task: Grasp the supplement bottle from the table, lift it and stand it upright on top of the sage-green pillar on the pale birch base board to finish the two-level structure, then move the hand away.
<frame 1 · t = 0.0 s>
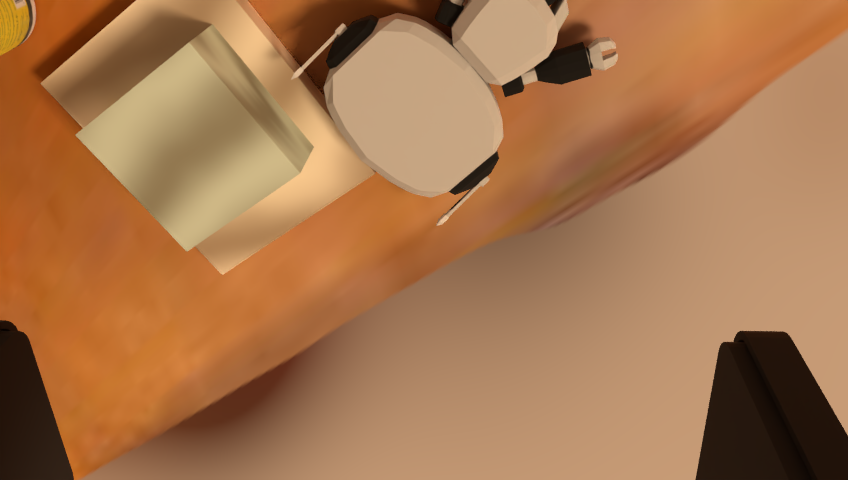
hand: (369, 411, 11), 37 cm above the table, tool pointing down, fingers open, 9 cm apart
robot toy: (459, 56, 46), on the table
base board: (217, 120, 49), on the table
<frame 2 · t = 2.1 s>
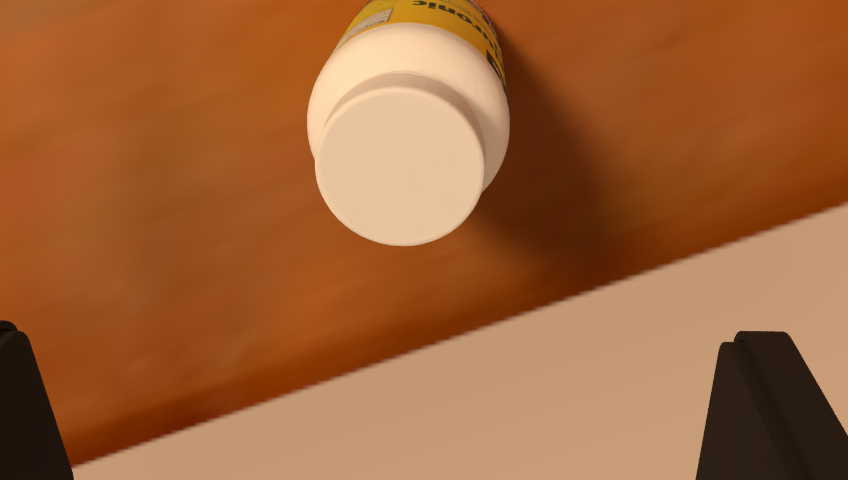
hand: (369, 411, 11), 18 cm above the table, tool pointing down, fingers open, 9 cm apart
supplement bottle: (423, 58, 27), on the table
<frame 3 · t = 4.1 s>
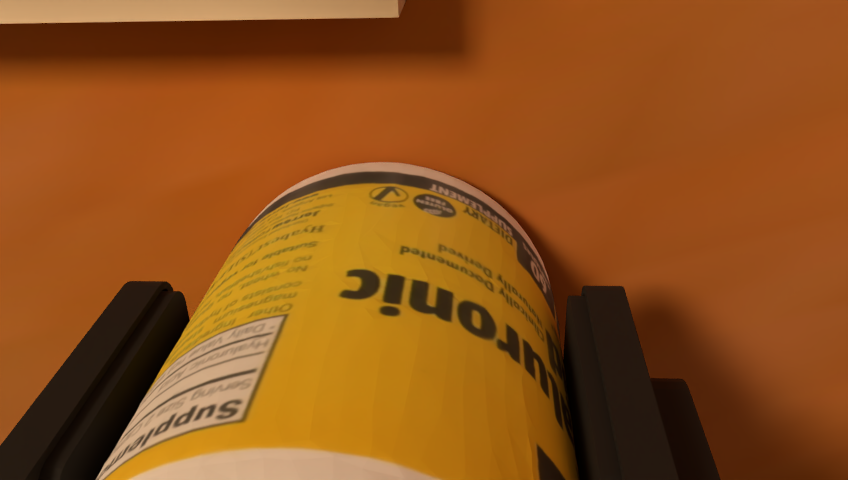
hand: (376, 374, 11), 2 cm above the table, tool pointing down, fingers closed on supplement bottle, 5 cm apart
supplement bottle: (393, 292, 13), on the table, touching gripper
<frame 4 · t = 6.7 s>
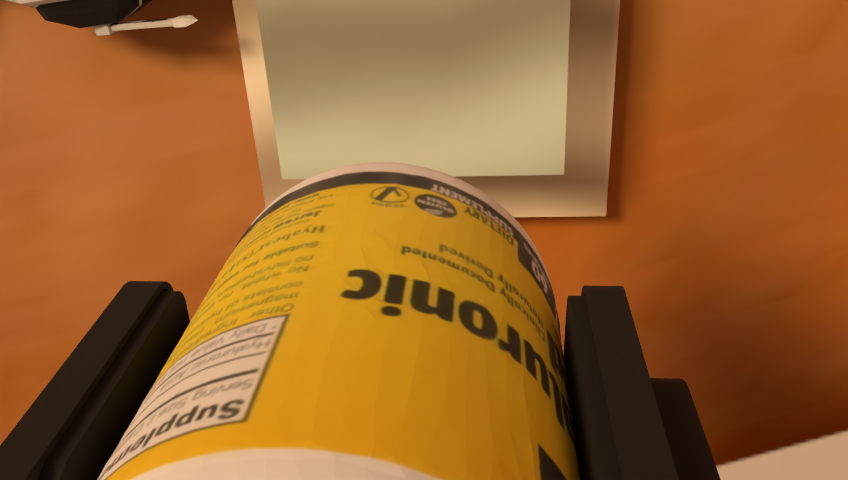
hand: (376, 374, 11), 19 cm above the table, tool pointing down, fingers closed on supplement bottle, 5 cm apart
supplement bottle: (393, 292, 13), point 17 cm above the table, touching gripper
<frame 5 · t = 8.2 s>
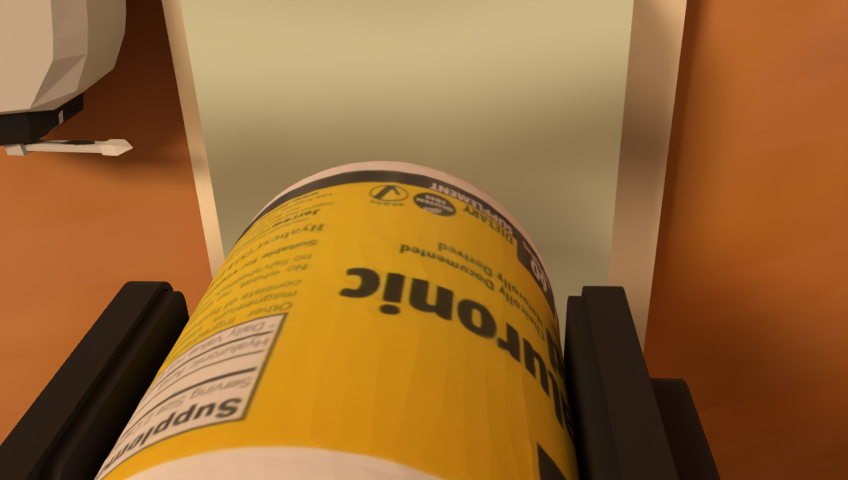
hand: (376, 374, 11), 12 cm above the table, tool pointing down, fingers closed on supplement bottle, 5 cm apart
supplement bottle: (393, 291, 13), point 10 cm above the table, touching gripper
base board: (426, 105, 22), on the table
when the fingers open (8 cm above the table, at t = 9.4 s): supplement bottle stays where it is, resting on base board.
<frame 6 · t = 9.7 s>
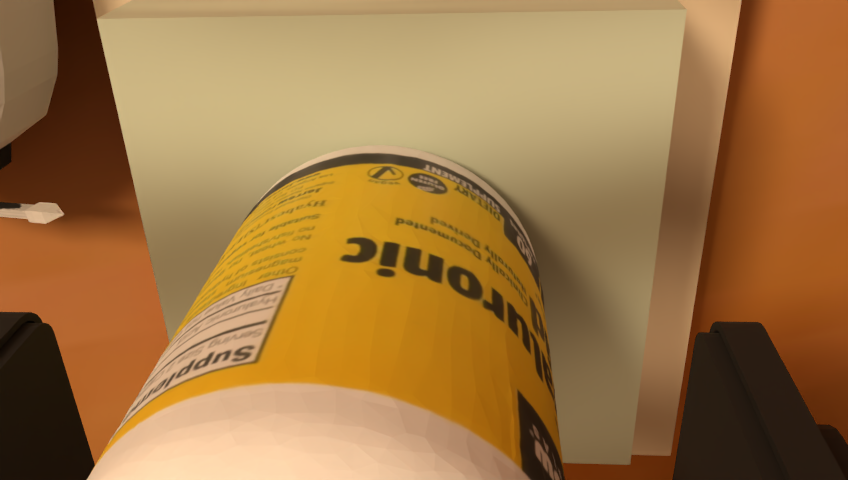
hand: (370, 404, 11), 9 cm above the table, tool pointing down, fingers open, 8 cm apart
supplement bottle: (389, 269, 14), point 5 cm above the table, touching base board
base board: (420, 153, 19), on the table
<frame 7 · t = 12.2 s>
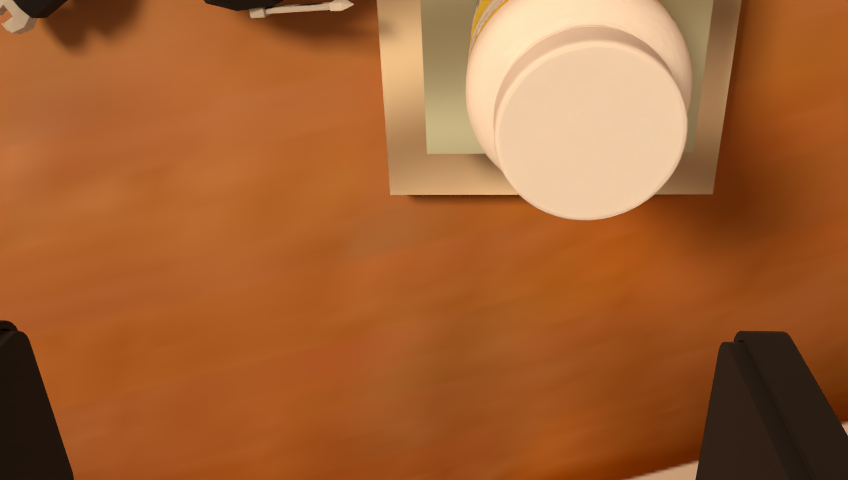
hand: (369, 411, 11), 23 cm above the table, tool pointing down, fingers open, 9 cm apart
supplement bottle: (558, 22, 25), point 5 cm above the table, touching base board
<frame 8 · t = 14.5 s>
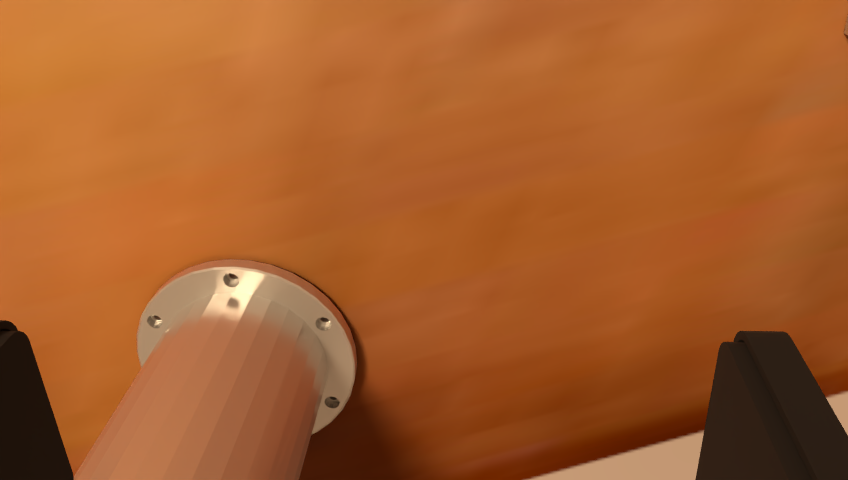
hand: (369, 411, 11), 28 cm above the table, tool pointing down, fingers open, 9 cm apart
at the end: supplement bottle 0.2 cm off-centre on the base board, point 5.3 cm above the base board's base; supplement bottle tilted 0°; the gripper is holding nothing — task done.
